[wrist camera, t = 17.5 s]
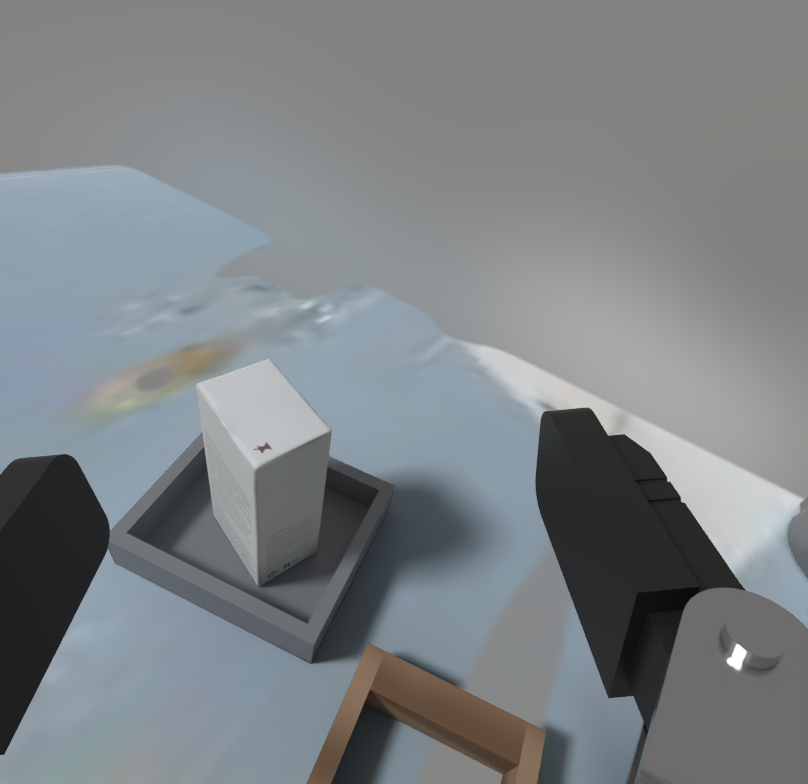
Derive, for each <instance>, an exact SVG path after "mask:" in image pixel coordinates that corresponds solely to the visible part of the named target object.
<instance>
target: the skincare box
mask: <svg viewBox="0 0 808 784" xmlns="http://www.w3.org/2000/svg"><path fill="white" fill-rule="evenodd" d="M196 389H197V396H198V403H199V411H200V419H201V426H202V434H203V441H204V448H205V456H206V462H207V469H208V477H209V484H210V491H211V499H212V506H213V513H214V516H215V518H216V519H217V521H218V523H219V524H220V526H221V527H222V529H223V531H224V532H225V534H226V536H227V537H228V539H229V540H230V542H231V544H232V545H233V547H234V549H235V550H236V552H237V553H238V555H239V557H240V558H241V560H242V562H243V563H244V565H245V566H246V568H247V569H248V571H249V573H250V574H251V576H252V578H253V579H254V581H255V582H256V584H257V586H261V585H263V584H264V583H266V582H268V581H269V580H271V579H272V578H274V577H276V576H277V575H279V574H281V573H282V572H284V571H286V570H287V569H289V568H291V567H292V566H294V565H295V564H297V563H299V562H301V561H302V560H304V559H305V558H307V557H309V556H311V555H312V554H314V553H315V552H316V551H317V548H318V539H319V531H320V522H321V514H322V506H323V499H324V490H325V482H326V473H327V465H328V458H329V449H330V441H331V429H330V428H329V427H328V426H327V424H326V423H325V422H324V421H323V420H322V419H321V417H320V416H319V415H318V414H317V413H316V411H315V410H314V409H313V408H312V407H311V406H310V404H309V403H308V402H307V401H306V400H305V399H304V398H303V396H302V395H301V394H300V393H299V392H298V391H297V390H296V388H295V387H294V386H293V385H292V384H291V383H290V381H289V380H288V379H287V378H286V377H285V376H284V375H283V373H282V372H281V371H280V370H279V369H278V367H277V366H276V365H275V364H274V363H273V361H272V360H271V359H270V358H268V359H265V360H263V361H260V362H257V363H254V364H252V365H249V366H246V367H243V368H241V369H238V370H235V371H232V372H229V373H227V374H224V375H221V376H218V377H215V378H212V379H209V380H206V381H203V382H199V383H197V385H196Z"/></svg>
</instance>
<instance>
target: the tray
mask: <svg viewBox="0 0 808 784" xmlns="http://www.w3.org/2000/svg"><path fill="white" fill-rule="evenodd" d="M394 488H395V486H394V485H392V484H389V483H387V482H385V481H383V480H381V479H378V478H376V477H374V476H372V475H369V474H367V473H365V472H363V471H361V470H358V469H356V468H354V467H352V466H349V465H347V464H345V463H343V462H341V461H338V460H336V459H334V458H332V457H329V458H328V465H327V473H326V482H325V490H324V499H323V506H322V514H321V522H320V531H319V539H318V548H317V551H316V552H315V553H314V554H312V555H311V556H309V557H307V558H305V559H304V560H302V561H301V562H299V563H297V564H295V565H294V566H292V567H291V568H289V569H287V570H286V571H284V572H282V573H281V574H279V575H277V576H276V577H274V578H272V579H271V580H269V581H268V582H266V583H264V584H263V585H261V586H257V584H256V582H255V581H254V579H253V578H252V576H251V574H250V573H249V571H248V569H247V568H246V566H245V565H244V563H243V562H242V560H241V558H240V557H239V555H238V553H237V552H236V550H235V549H234V547H233V545H232V544H231V542H230V540H229V539H228V537H227V536H226V534H225V532H224V531H223V529H222V527H221V526H220V524H219V523H218V521H217V519H216V518H215V516H214V513H213V506H212V499H211V491H210V484H209V477H208V469H207V462H206V456H205V448H204V441H203V434H202V433H201V434H200V435H199V436H198V437H197V438H196V439H195V441H194V442H193V443H192V444H191V445H190V446H189V447H188V448H187V449H186V450H185V451H184V452H183V453H182V455H181V456H180V457H179V458H178V459H177V460H176V461H175V462H174V463H173V464H172V465H171V466H170V467H169V468H168V470H167V471H166V472H165V473H164V474H163V475H162V476H161V477H160V478H159V479H158V480H157V481H156V482H155V484H154V485H153V486H152V487H151V488H150V489H149V490H148V491H147V492H146V493H145V494H144V495H143V496H142V497H141V499H140V500H139V501H138V502H137V503H136V504H135V505H134V506H133V507H132V508H131V509H130V510H129V511H128V512H127V514H126V515H125V516H124V517H123V518H122V519H121V520H120V521H119V522H118V523H117V524H116V525H115V526H114V528H113V529H112V530H111V531H110V538H109V545H108V549H109V552H110V554H111V556H112V558H113V560H114V562H115V563H116V564H118V565H119V566H121V567H123V568H125V569H127V570H129V571H131V572H133V573H135V574H137V575H139V576H141V577H143V578H145V579H147V580H149V581H151V582H153V583H155V584H156V585H158V586H160V587H162V588H164V589H166V590H168V591H170V592H172V593H174V594H176V595H178V596H180V597H182V598H184V599H186V600H188V601H190V602H191V603H193V604H195V605H197V606H199V607H201V608H203V609H205V610H207V611H209V612H211V613H213V614H215V615H217V616H219V617H221V618H223V619H225V620H226V621H228V622H230V623H232V624H234V625H236V626H238V627H240V628H242V629H244V630H246V631H248V632H250V633H252V634H254V635H256V636H258V637H260V638H261V639H263V640H265V641H267V642H269V643H271V644H273V645H275V646H277V647H279V648H281V649H283V650H285V651H287V652H289V653H291V654H293V655H295V656H297V657H298V658H300V659H302V660H304V661H306V662H308V663H310V664H311V662H312V660H313V658H314V656H315V654H316V652H317V650H318V648H319V646H320V644H321V642H322V640H323V638H324V636H325V634H326V632H327V630H328V628H329V626H330V624H331V622H332V620H333V618H334V616H335V614H336V612H337V610H338V608H339V606H340V604H341V602H342V600H343V598H344V597H345V595H346V593H347V591H348V589H349V587H350V585H351V583H352V581H353V579H354V577H355V575H356V573H357V571H358V569H359V567H360V565H361V563H362V561H363V559H364V557H365V555H366V553H367V551H368V549H369V547H370V545H371V543H372V541H373V539H374V537H375V535H376V533H377V531H378V529H379V527H380V525H381V523H382V521H383V519H384V517H385V515H386V513H387V511H388V508H389V505H390V502H391V498H392V495H393V492H394Z"/></svg>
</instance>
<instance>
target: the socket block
mask: <svg viewBox="0 0 808 784" xmlns="http://www.w3.org/2000/svg"><path fill="white" fill-rule="evenodd" d="M364 703H366V704H368V705H370V706H372V707H374V708H375V709H377V710H379V711H381V712H383V713H385V714H387V715H389V716H391V717H393V718H395V719H397V720H399V721H401V722H403V723H404V724H406V725H408V726H410V727H412V728H414V729H416V730H418V731H420V732H422V733H424V734H426V735H428V736H430V737H432V738H433V739H435V740H437V741H439V742H441V743H443V744H445V745H447V746H449V747H451V748H453V749H455V750H457V751H459V752H461V753H463V754H464V755H466V756H469V757H470V758H472V759H474V760H476V761H478V762H480V763H482V764H484V765H486V766H488V767H490V768H491V769H493V770H495V771H497V772H499V773H501V774H503V777H502V781H501V784H537V781H538V775H539V769H540V764H541V758H542V752H543V747H544V741H545V735H546V731H544V730H542V729H540V728H538V727H536V726H534V725H532V724H530V723H528V722H526V721H524V720H522V719H520V718H518V717H516V716H514V715H512V714H510V713H508V712H506V711H504V710H502V709H500V708H498V707H496V706H494V705H492V704H490V703H488V702H486V701H484V700H482V699H480V698H478V697H476V696H474V695H472V694H470V693H468V692H466V691H464V690H462V689H460V688H458V687H456V686H454V685H452V684H450V683H448V682H446V681H444V680H442V679H440V678H438V677H436V676H434V675H432V674H430V673H428V672H426V671H424V670H422V669H420V668H418V667H416V666H414V665H412V664H410V663H408V662H406V661H404V660H402V659H400V658H398V657H396V656H394V655H392V654H390V653H388V652H386V651H384V650H382V649H380V648H378V647H376V646H374V645H372V644H370V643H368V645H367V647H366V649H365V652H364V654H363V656H362V659H361V661H360V663H359V665H358V668H357V670H356V672H355V675H354V677H353V679H352V681H351V684H350V686H349V688H348V691H347V693H346V695H345V697H344V700H343V702H342V704H341V706H340V709H339V711H338V713H337V716H336V718H335V720H334V722H333V725H332V727H331V729H330V732H329V734H328V736H327V738H326V741H325V743H324V745H323V747H322V750H321V752H320V754H319V757H318V759H317V761H316V763H315V766H314V768H313V770H312V773H311V775H310V777H309V779H308V782H307V784H331V782H332V780H333V778H334V775H335V773H336V770H337V768H338V765H339V763H340V761H341V758H342V756H343V753H344V751H345V748H346V746H347V744H348V741H349V739H350V736H351V734H352V731H353V729H354V727H355V724H356V722H357V719H358V717H359V714H360V712H361V709H362V707H363V705H364Z"/></svg>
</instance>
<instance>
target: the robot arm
mask: <svg viewBox="0 0 808 784" xmlns="http://www.w3.org/2000/svg"><path fill="white" fill-rule="evenodd" d="M536 495H537V501H538V506H539V510H540V513H541V516H542V519H543V522H544V524H545V527H546V530H547V533H548V535H549V538H550V541H551V543H552V546H553V549H554V551H555V554H556V557H557V560H558V562H559V565H560V568H561V571H562V573H563V576H564V579H565V581H566V584H567V587H568V590H569V592H570V595H571V598H572V600H573V603H574V606H575V609H576V611H577V614H578V617H579V619H580V622H581V625H582V628H583V630H584V633H585V636H586V638H587V641H588V644H589V647H590V649H591V652H592V655H593V657H594V660H595V663H596V666H597V668H598V671H599V674H600V676H601V679H602V682H603V685H604V687H605V690H606V693H607V695H608V698H615V697H625V696H634V698H635V701H636V703H637V706H638V708H639V711H640V713H641V716H642V718H643V720H644V721H643V724H642V727H641V730H640V734H639V737H638V741H637V744H636V748H635V751H634V755H633V758H632V762H631V766H630V769H629V773H628V776H627V780H626V783H625V784H808V629H807V628H806V627H805V626H804V625H803V623H802V622H800V621H799V620H798V619H797V618H796V617H795V616H794V615H792V614H791V613H790V612H788V611H787V610H786V609H784V608H783V607H781V606H780V605H778V604H776V603H774V602H773V601H771V600H769V599H767V598H764V597H762V596H760V595H758V594H755V593H752V592H748V591H746V590H745V589H744V588H743V586H742V585H741V584H740V583H739V581H738V580H737V578H736V577H735V575H734V574H733V573H732V571H731V570H730V568H729V567H728V565H727V564H726V562H725V561H724V559H723V558H722V557H721V555H720V554H719V552H718V551H717V549H716V548H715V546H714V545H713V543H712V542H711V541H710V539H709V538H708V536H707V535H706V533H705V532H704V530H703V529H702V527H701V526H700V525H699V523H698V522H697V520H696V519H695V517H694V516H693V514H692V513H691V511H690V510H689V509H688V507H687V506H686V504H685V503H682V502H681V497H680V495H679V494H678V493H677V491H676V490H675V488H674V487H673V485H672V484H671V482H667V477H666V475H665V474H664V472H663V471H662V469H661V468H660V466H659V465H658V464H657V462H656V461H655V459H654V458H653V456H652V455H651V453H649V452H648V451H647V450H645V449H644V448H642V447H641V446H640V445H638V444H637V443H636V442H634V441H633V440H631V439H630V438H629V437H627V436H626V435H624V434H623V435H612V436H608V435H607V433H606V432H605V430H604V429H603V427H602V425H601V424H600V422H599V420H598V419H597V417H596V415H595V414H594V412H593V411H592V410H591V409H590V408H578V409H567V410H556V411H545V412H544V413H543V414H542V417H541V423H540V434H539V445H538V457H537V468H536ZM800 506H801V512H800V513H799V514H798V515H796V516H795V517H794V518H793V519H792V520H791V522H790V524H789V528H788V538H789V544H790V547H791V549H792V552H793V555H794V557H795V558H796V560H797V562H798V564H799V565H800V567H801V568H802V570H803V571H804V572H805V574H806V575H807V576H808V497H807V498H806V499H805V500H803V501H802V502H801V503H800ZM109 538H110V529H109V522H108V519H107V517H106V514H105V513H104V511H103V509H102V507H101V505H100V503H99V501H98V500H97V498H96V496H95V494H94V492H93V490H92V488H91V486H90V485H89V483H88V481H87V479H86V477H85V475H84V473H83V472H82V470H81V468H80V466H79V464H78V463H77V461H76V460H75V459H74V458H73V457H72V456H70V455H66V454H62V455H51V456H41V457H30V458H20V459H17V460H14V461H13V462H11V463H10V464H9V465H8V466H7V468H6V469H5V470H4V471H3V472H2V474H1V475H0V755H4V754H5V752H6V750H7V748H8V746H9V744H10V742H11V740H12V738H13V736H14V734H15V732H16V730H17V728H18V726H19V724H20V722H21V720H22V718H23V716H24V714H25V712H26V710H27V708H28V706H29V704H30V702H31V700H32V698H33V696H34V694H35V692H36V691H37V689H38V687H39V685H40V683H41V681H42V679H43V677H44V675H45V673H46V671H47V669H48V667H49V665H50V663H51V661H52V659H53V657H54V655H55V653H56V651H57V649H58V647H59V645H60V643H61V641H62V639H63V637H64V635H65V633H66V631H67V629H68V627H69V625H70V623H71V621H72V619H73V617H74V615H75V613H76V611H77V609H78V607H79V605H80V603H81V602H82V600H83V598H84V596H85V594H86V592H87V590H88V588H89V586H90V584H91V582H92V580H93V578H94V576H95V574H96V572H97V570H98V568H99V566H100V564H101V562H102V560H103V558H104V556H105V554H106V552H107V548H108V545H109Z"/></svg>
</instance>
